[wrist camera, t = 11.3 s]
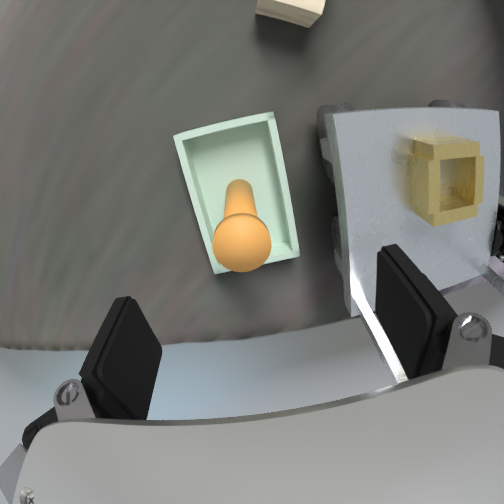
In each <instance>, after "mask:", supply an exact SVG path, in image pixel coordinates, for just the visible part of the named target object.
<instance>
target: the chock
mask: <svg viewBox="0 0 504 504" xmlns="http://www.w3.org/2000/svg"><path fill="white" fill-rule="evenodd" d="M325 1H326V0H258V3H257V8H256V14H260V15H265V16H269V17H273V18H277V19H280V20H284V21H287V22H291V23H294V24H298V25H301V26H304V27H307V28H309V27H310V26H311V25H312V24H313V23H314V22H315V21H316V20H317V19H318V18H319V17H320V16H321V15H322V12H323V8H324V5H325Z"/></svg>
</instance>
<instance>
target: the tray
mask: <svg viewBox="0 0 504 504" xmlns="http://www.w3.org/2000/svg"><path fill="white" fill-rule="evenodd" d="M173 137H174V141H175V144H176V148H177V152H178V155H179V159H180V162H181V166H182V169H183V173H184V176H185V180H186V183H187V187H188V190H189V194H190V197H191V200H192V204H193V207H194V211H195V214H196V217H197V220H198V224H199V227H200V230H201V233H202V237H203V240H204V243H205V246H206V249H207V252H208V256H209V259H210V262H211V265H212V268H213V271H214V274H219V273H224V272H228V271H231V270H229V269H227V268H225V267H223V266H222V265H221V264H220V263H219V262H218V261H217V260H216V258H215V256H214V254H213V249H212V243H213V236H214V232H215V229H216V227H217V225H218V224H219V223H220V222H221V221H222V220H223V219H224V208H225V198H226V189H227V186H228V185H229V183H230V182H232V181H233V180H236V179H243V180H246V181H247V182H248V183H249V184H250V185H251V187H252V190H253V195H254V201H255V206H256V211H257V216H258V218H259V219H261V220H262V221H263V222H264V223H265V225H266V226H267V228H268V231H269V234H270V238H271V244H272V248H271V252H270V255H269V257H268V259H267V260H266V261H265V263H264V264H266V263H271V262H276V261H280V260H285V259H290V258H294V257H299V256H300V252H299V246H298V239H297V233H296V227H295V221H294V215H293V209H292V204H291V198H290V192H289V187H288V182H287V176H286V171H285V166H284V160H283V155H282V150H281V145H280V140H279V135H278V131H277V126H276V121H275V116H274V112H266V113H261V114H256V115H251V116H246V117H242V118H237V119H233V120H228V121H224V122H220V123H216V124H212V125H208V126H204V127H200V128H197V129H193V130H190V131H186V132H183V133H179V134H177V135H174V136H173Z"/></svg>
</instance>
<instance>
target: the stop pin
mask: <svg viewBox="0 0 504 504" xmlns="http://www.w3.org/2000/svg"><path fill="white" fill-rule="evenodd" d="M271 248H272V244H271V238H270V234H269V231H268V228H267V226H266V225H265V223H264V222H263V221H262V220H261V219H259V218H258V216H257V211H256V206H255V201H254V195H253V190H252V187H251V185H250V184H249V183H248V182H247V181H246V180H243V179H236V180H233V181H232V182H230V183H229V185H228V186H227V189H226V198H225V208H224V219H223V220H222V221H221V222H220V223H219V224H218V225H217V227H216V229H215V232H214V236H213V243H212V249H213V254H214V256H215V258H216V260H217V261H218V262H219V263H220V264H221V265H222V266H223V267H225V268H227V269H229V270H231V271H235V272H248V271H252V270H254V269H257V268H258V267H260V266H261V265H263V264H264V263H265V261H266V260H267V259H268V257H269V255H270V252H271Z"/></svg>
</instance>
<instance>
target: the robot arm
mask: <svg viewBox="0 0 504 504" xmlns="http://www.w3.org/2000/svg"><path fill="white" fill-rule="evenodd" d="M375 311H376V315H377V317H378V319H379V321H380V323H381V325H382V326H383V329H384V331H385V333H386V334H387V337H388V338H389V341H390V343H391V345H392V347H393V349H394V351H395V353H396V355H397V357H398V359H399V361H400V363H401V366H402V368H403V370H404V372H405V374H406V376H407V378H408V381H405V382H402V383H398V384H395V385H392V386H389V387H385V388H382V389H378V390H374V391H371V392H368V393H364V394H360V395H356V396H352V397H348V398H344V399H340V400H336V401H331V402H327V403H322V404H317V405H312V406H307V407H301V408H296V409H290V410H284V411H278V412H271V413H264V414H256V415H247V416H238V417H228V418H214V419H196V420H146V419H147V416H148V411H149V406H150V402H151V398H152V393H153V389H154V385H155V380H156V376H157V372H158V368H159V364H160V360H161V356H162V347H161V345H160V343H159V341H158V340H157V338H156V336H155V335H154V333H153V331H152V329H151V327H150V326H149V324H148V322H147V320H146V318H145V317H144V315H143V313H142V311H141V309H140V307H139V305H138V303H137V302H136V300H135V299H132V298H131V297H130V296H126V297H120V298H116V299H115V301H114V302H113V304H112V306H111V308H110V310H109V312H108V314H107V316H106V318H105V320H104V322H103V324H102V326H101V328H100V330H99V332H98V334H97V336H96V338H95V340H94V342H93V344H92V346H91V348H90V350H89V352H88V355H87V357H86V359H85V361H84V363H83V365H82V368H81V370H80V372H79V375H80V376H81V377H82V379H81V382H80V381H79V380H77V379H70V380H67V381H65V382H64V383H62V384H61V385H60V386H59V387H58V388H57V390H56V392H55V394H54V407H53V408H52V409H50V410H49V411H47V412H46V413H45V414H43V415H42V416H40V417H39V418H37V419H36V420H35V421H33V422H32V423H30V424H29V425H28V426H27V427H26V428H25V430H24V433H23V437H22V442H23V445H22V444H19V445H18V446H17V447H16V449H15V450H14V451H13V452H12V453H11V454H10V456H9V457H8V458H7V459H6V460H5V462H4V463H3V464H2V465H1V466H0V488H1V490H2V492H3V494H4V496H5V497H6V499H7V501H8V503H9V504H504V337H500V336H497V335H494V334H492V329H491V326H490V323H489V322H488V321H487V320H486V319H485V318H484V317H482V316H481V315H479V314H476V313H463V314H461V315H459V316H458V315H457V314H456V313H455V311H454V310H453V309H452V307H451V306H450V305H449V304H448V302H447V301H446V300H445V298H444V297H443V296H442V295H441V293H440V292H439V291H438V290H437V288H436V287H435V286H434V285H433V283H432V282H431V281H430V280H429V279H428V277H427V276H426V275H425V274H424V273H422V272H421V271H420V270H419V269H418V267H417V266H416V265H415V264H414V263H413V262H412V260H411V259H410V258H409V257H408V256H407V255H406V254H405V252H404V251H403V250H402V249H401V248H400V247H399V246H398V245H397V244H391V245H387V246H382V247H381V251H378V252H377V274H376V298H375Z"/></svg>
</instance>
